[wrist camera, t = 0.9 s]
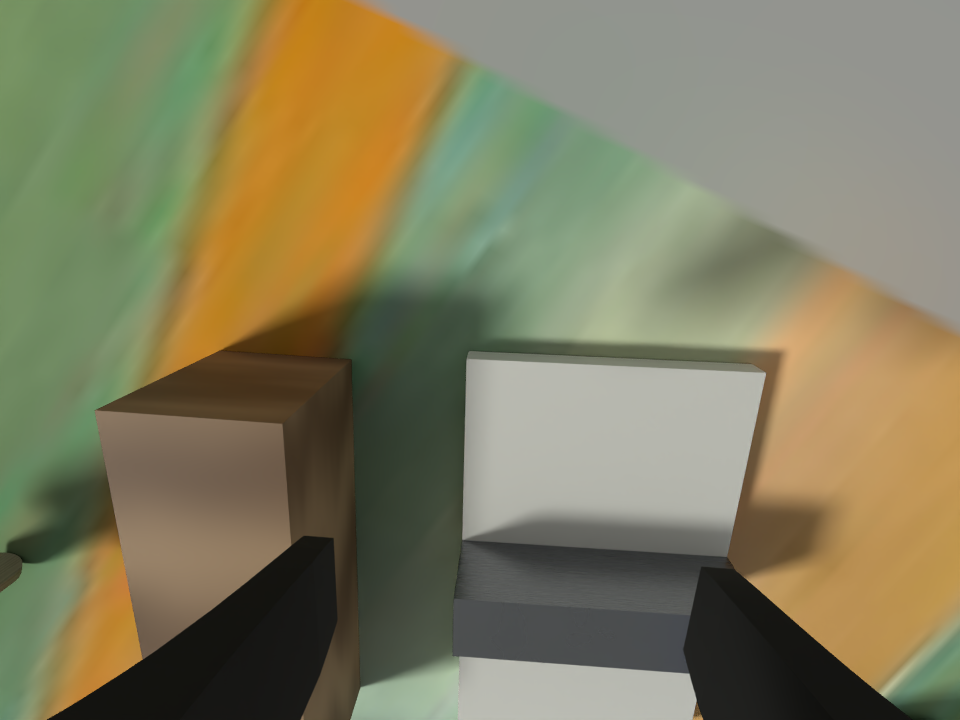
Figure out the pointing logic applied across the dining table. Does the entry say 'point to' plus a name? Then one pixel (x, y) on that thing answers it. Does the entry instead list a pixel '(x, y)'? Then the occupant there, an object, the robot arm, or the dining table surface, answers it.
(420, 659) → the dining table surface
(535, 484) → the fulcrum board
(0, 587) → the ice cream bar
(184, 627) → the walnut beam
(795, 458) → the dining table surface
